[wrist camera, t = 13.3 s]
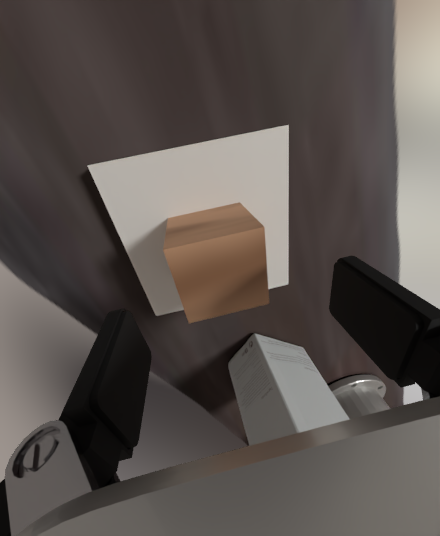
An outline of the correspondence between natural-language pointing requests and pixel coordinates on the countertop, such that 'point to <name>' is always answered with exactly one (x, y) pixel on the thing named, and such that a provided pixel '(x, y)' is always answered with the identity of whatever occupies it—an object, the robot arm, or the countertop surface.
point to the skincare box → (280, 390)
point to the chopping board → (197, 200)
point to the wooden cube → (217, 261)
